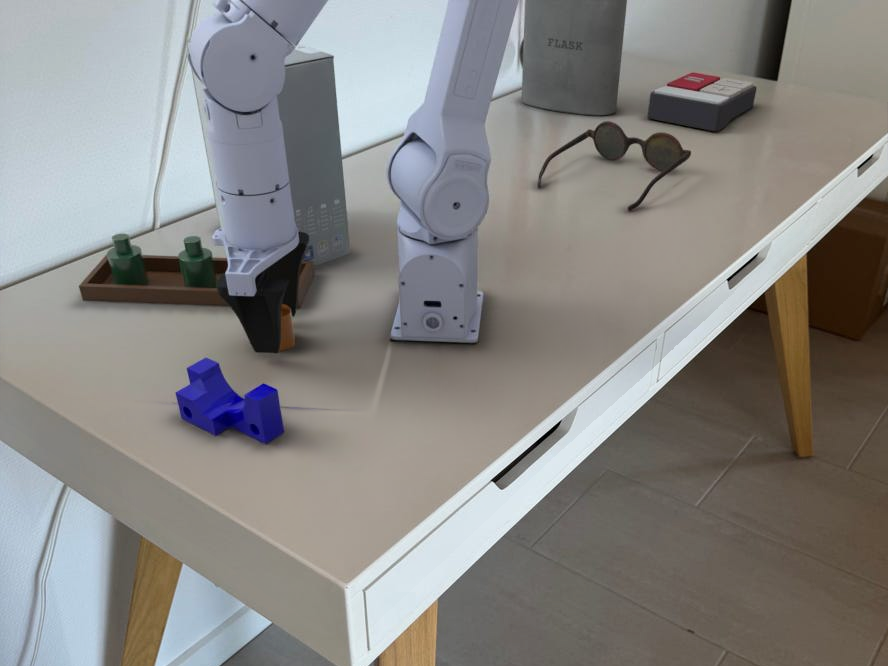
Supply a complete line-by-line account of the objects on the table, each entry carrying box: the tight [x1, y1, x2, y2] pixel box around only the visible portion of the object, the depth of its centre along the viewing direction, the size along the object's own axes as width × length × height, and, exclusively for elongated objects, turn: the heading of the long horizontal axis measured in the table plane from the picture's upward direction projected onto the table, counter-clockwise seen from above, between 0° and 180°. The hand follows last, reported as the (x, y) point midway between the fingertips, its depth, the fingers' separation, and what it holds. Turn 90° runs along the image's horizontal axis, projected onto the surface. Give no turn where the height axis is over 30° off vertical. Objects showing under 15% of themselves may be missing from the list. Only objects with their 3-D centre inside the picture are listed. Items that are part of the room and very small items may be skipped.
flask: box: [521, 0, 628, 117], centre depth 131 cm, size 15×6×20 cm, turn 65°
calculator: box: [646, 72, 758, 132], centre depth 135 cm, size 11×4×15 cm
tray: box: [78, 254, 315, 310], centre depth 90 cm, size 7×21×2 cm, turn 86°
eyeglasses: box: [537, 120, 692, 212], centre depth 112 cm, size 15×15×5 cm
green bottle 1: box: [106, 233, 149, 286], centre depth 89 cm, size 3×3×5 cm
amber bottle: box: [278, 304, 296, 352], centre depth 80 cm, size 3×3×5 cm
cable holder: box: [174, 357, 285, 445], centre depth 71 cm, size 8×4×4 cm, turn 55°
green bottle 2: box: [177, 235, 217, 288], centre depth 88 cm, size 3×3×5 cm
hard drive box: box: [185, 37, 351, 267], centre depth 93 cm, size 16×8×20 cm, turn 42°
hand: (275, 332), depth 81 cm, fingers open, 6 cm apart
